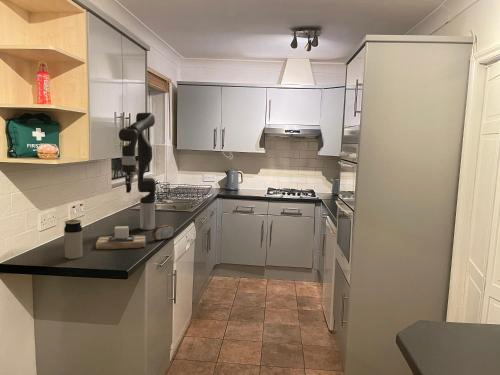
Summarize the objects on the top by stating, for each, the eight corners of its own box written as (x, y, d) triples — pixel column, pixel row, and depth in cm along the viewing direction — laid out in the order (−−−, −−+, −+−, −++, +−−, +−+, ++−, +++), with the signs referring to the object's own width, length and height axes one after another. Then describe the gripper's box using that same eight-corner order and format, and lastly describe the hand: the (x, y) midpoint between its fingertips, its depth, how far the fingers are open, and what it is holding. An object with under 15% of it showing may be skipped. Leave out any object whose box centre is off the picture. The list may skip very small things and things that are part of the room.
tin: (172, 236, 239) (172, 222, 238) (175, 237, 237) (175, 223, 236) (151, 240, 228) (151, 226, 227) (155, 241, 226) (155, 227, 225)
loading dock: (99, 241, 222) (99, 234, 221) (145, 240, 228) (145, 233, 227) (95, 249, 207) (95, 241, 207) (144, 247, 213) (144, 240, 213)
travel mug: (85, 254, 197) (84, 219, 195) (78, 259, 190) (77, 223, 187) (69, 254, 197) (68, 219, 195) (62, 259, 189) (61, 222, 187)
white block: (115, 238, 219) (115, 226, 218) (128, 237, 220) (128, 226, 220) (114, 240, 214) (114, 228, 213) (128, 240, 216) (128, 228, 215)
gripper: (122, 162, 232) (123, 189, 234) (120, 164, 218) (120, 193, 221) (136, 163, 234) (136, 189, 236) (134, 165, 220) (134, 193, 222)
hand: (128, 191), depth 228 cm, fingers open, 8 cm apart
